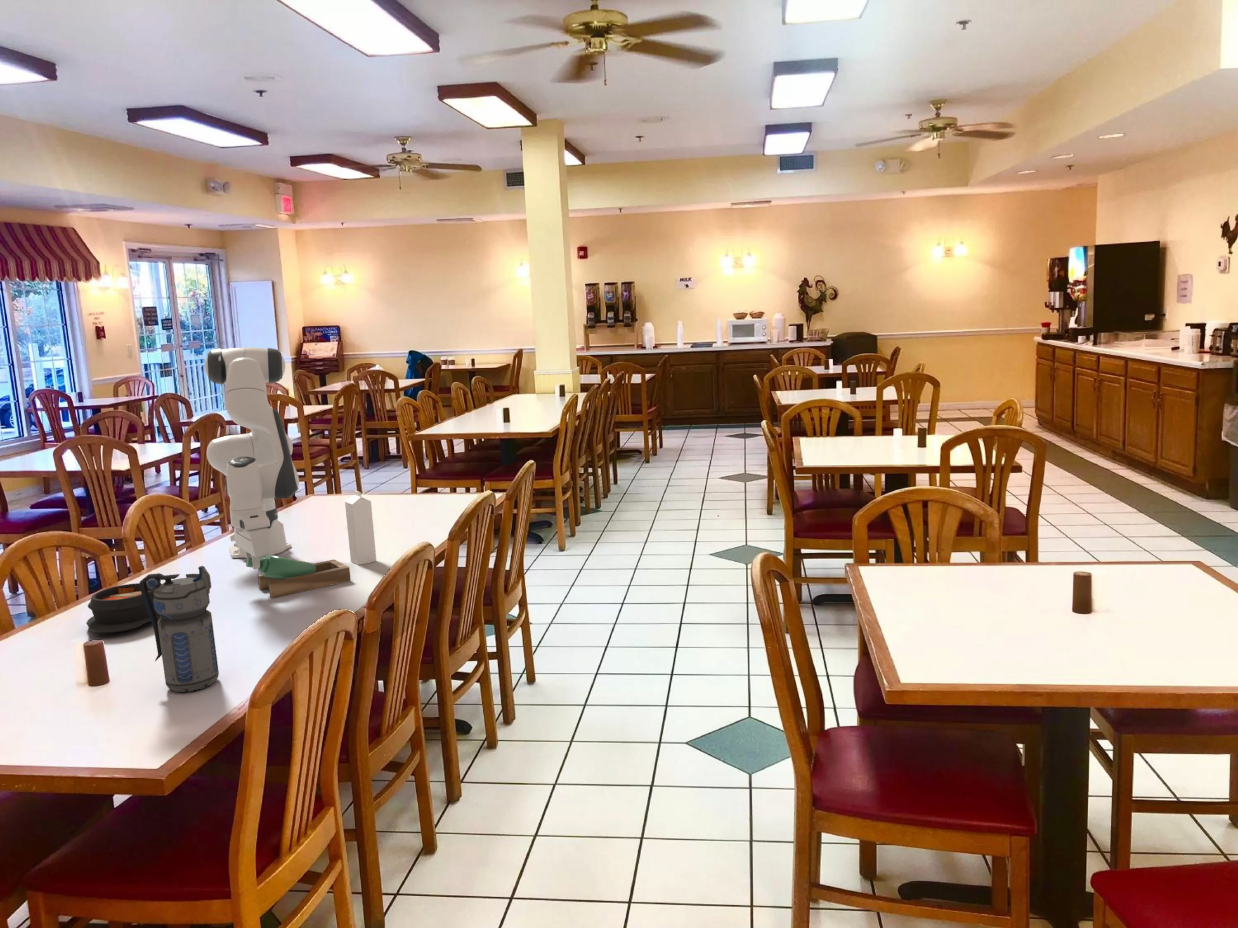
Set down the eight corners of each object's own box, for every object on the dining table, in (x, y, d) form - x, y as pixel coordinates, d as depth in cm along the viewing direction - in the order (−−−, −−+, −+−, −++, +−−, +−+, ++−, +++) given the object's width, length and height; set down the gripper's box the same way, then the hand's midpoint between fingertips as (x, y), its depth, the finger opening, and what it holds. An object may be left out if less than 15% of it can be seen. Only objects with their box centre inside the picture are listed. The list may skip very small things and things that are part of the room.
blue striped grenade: (162, 679, 198) (147, 565, 194) (228, 672, 200) (214, 559, 196) (147, 698, 188) (130, 579, 184) (216, 691, 191) (201, 572, 186)
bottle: (304, 581, 267) (241, 570, 256) (310, 561, 267) (248, 549, 256) (311, 586, 262) (247, 574, 251) (317, 565, 263) (254, 553, 252)
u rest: (259, 588, 262) (257, 574, 262) (335, 572, 275) (334, 559, 275) (272, 598, 253) (270, 583, 252) (350, 580, 266) (349, 567, 265)
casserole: (109, 611, 249) (104, 580, 247) (182, 604, 251) (178, 574, 250) (69, 643, 224) (64, 610, 223) (151, 636, 227) (146, 602, 225)
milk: (358, 565, 282) (350, 494, 278) (350, 561, 287) (343, 491, 283) (377, 561, 286) (370, 490, 282) (369, 557, 291) (362, 488, 287)
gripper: (225, 513, 259) (231, 561, 261) (246, 525, 243) (253, 576, 245) (249, 509, 263) (254, 557, 265) (271, 521, 247) (277, 571, 249)
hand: (254, 566), depth 255 cm, fingers closed on bottle, 3 cm apart
